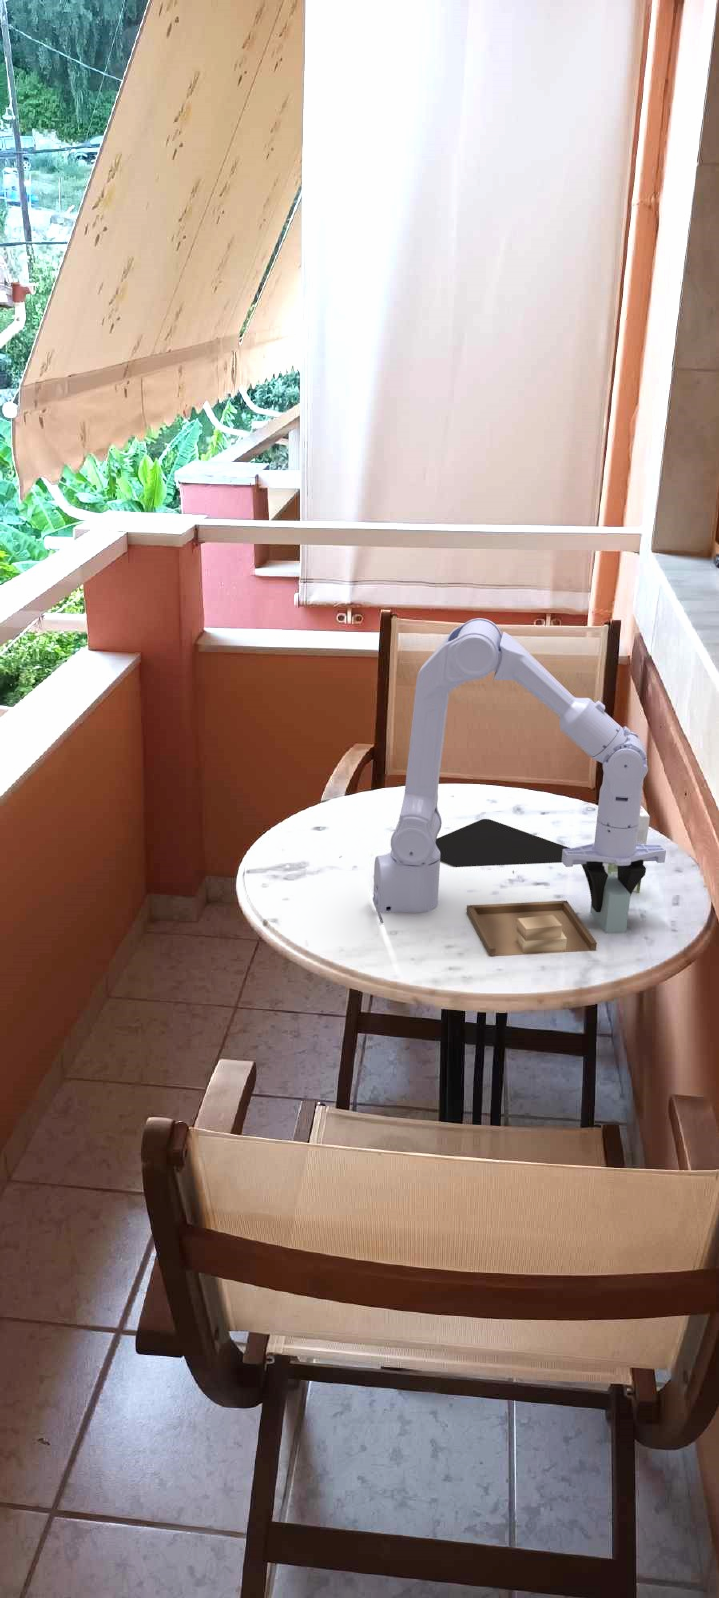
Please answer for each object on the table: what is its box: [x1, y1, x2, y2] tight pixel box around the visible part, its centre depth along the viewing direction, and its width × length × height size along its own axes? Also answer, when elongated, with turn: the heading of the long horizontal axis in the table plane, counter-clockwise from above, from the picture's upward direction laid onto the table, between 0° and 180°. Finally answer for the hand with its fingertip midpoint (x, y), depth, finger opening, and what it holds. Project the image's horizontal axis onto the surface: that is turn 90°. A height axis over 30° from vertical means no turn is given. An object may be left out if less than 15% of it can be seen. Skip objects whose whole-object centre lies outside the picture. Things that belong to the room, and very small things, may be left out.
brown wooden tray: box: [466, 900, 598, 957], centre depth 161 cm, size 15×13×3 cm
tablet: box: [435, 818, 571, 868], centre depth 188 cm, size 27×1×20 cm
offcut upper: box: [517, 915, 562, 941], centre depth 156 cm, size 5×3×2 cm, turn 105°
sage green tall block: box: [589, 875, 632, 934], centre depth 163 cm, size 3×6×7 cm, turn 9°
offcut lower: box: [516, 931, 567, 953], centre depth 157 cm, size 6×3×2 cm, turn 99°
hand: (607, 908), depth 164 cm, fingers closed on sage green tall block, 3 cm apart
